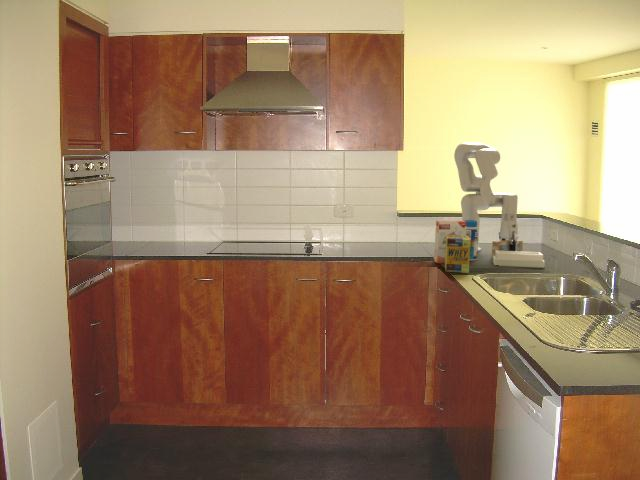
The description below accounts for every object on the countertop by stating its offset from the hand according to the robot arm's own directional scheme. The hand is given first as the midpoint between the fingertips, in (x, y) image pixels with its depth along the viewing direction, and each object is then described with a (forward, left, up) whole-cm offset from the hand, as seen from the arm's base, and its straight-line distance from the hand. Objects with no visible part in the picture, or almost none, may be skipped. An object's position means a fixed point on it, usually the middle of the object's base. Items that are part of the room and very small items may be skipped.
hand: (507, 250), depth 318 cm
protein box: (-27, -41, -4) cm, 49 cm away
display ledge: (+3, -21, -4) cm, 21 cm away
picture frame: (0, 0, -4) cm, 4 cm away
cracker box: (-30, -23, -4) cm, 38 cm away
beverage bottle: (-20, -11, -4) cm, 23 cm away
